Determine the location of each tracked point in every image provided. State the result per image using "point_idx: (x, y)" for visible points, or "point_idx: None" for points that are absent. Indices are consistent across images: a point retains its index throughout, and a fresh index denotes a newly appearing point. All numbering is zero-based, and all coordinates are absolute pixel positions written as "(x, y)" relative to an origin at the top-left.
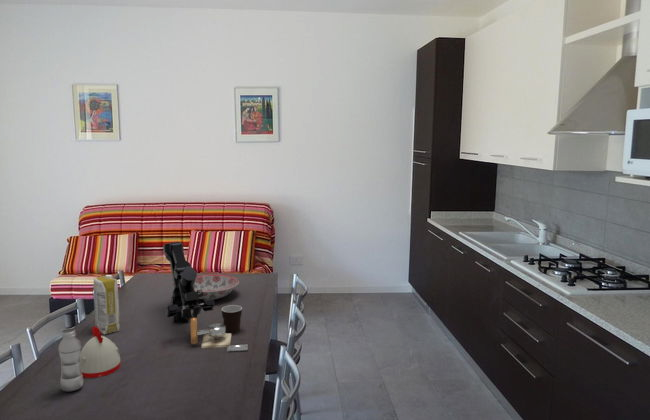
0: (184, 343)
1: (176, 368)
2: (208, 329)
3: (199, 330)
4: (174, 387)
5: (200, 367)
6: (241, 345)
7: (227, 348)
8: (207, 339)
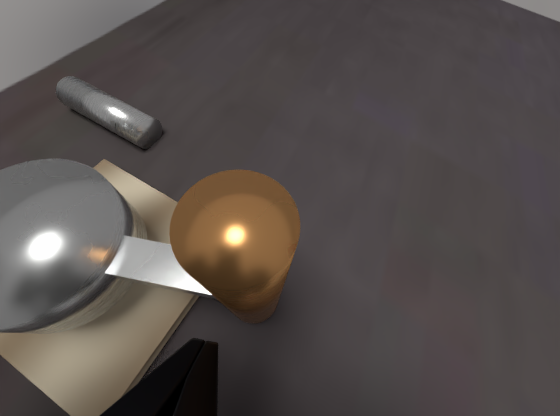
0: (293, 395)
1: (411, 133)
2: (118, 236)
3: (188, 285)
4: (435, 47)
5: (323, 93)
6: (89, 89)
7: (154, 118)
8: (146, 306)
